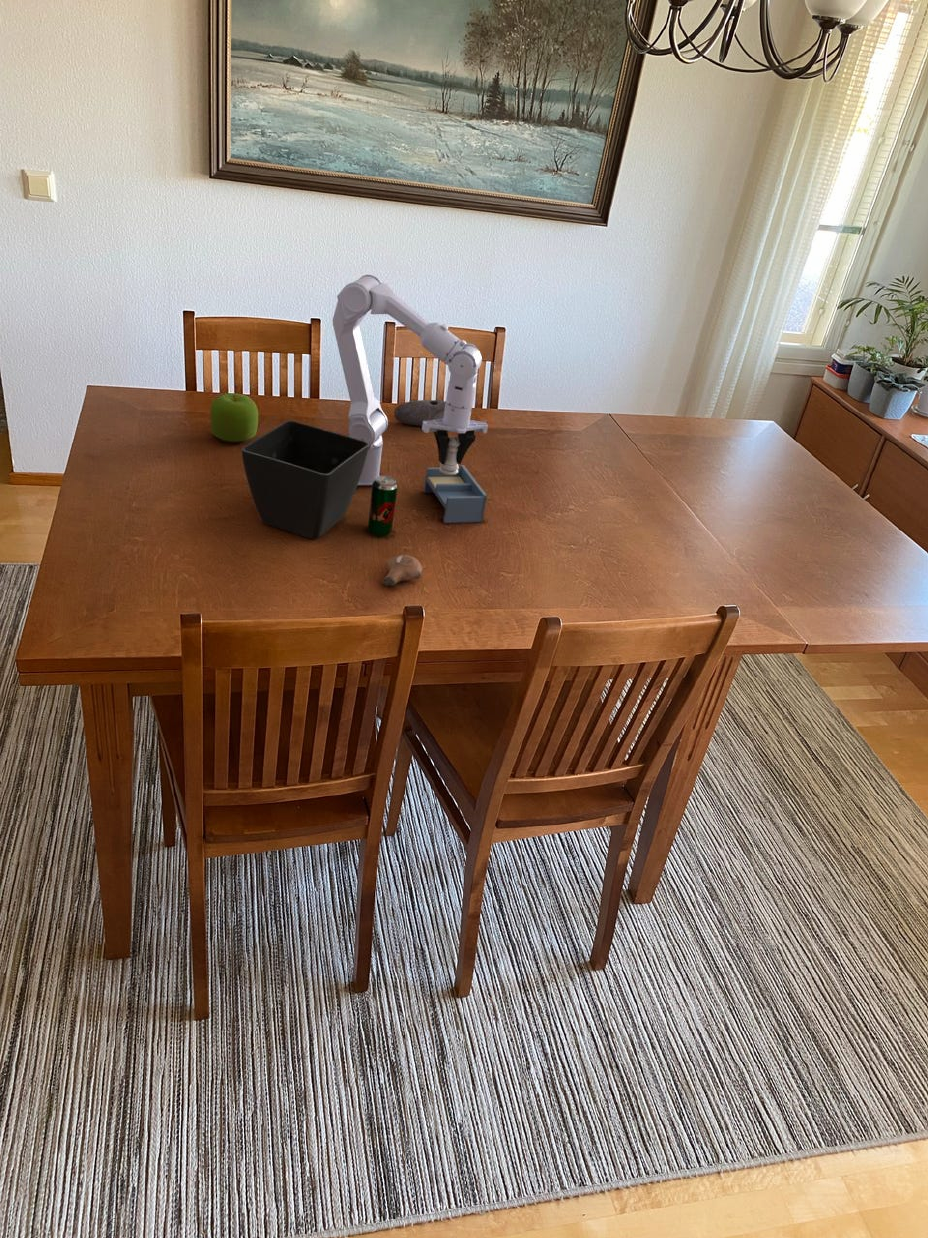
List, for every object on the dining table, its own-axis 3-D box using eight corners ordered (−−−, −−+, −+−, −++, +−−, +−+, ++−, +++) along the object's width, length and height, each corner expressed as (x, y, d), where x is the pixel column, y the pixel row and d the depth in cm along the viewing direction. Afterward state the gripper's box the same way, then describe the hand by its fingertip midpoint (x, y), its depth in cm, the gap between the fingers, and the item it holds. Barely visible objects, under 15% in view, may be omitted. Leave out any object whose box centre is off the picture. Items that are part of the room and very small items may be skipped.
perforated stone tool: (393, 426, 234) (396, 401, 230) (391, 419, 238) (394, 394, 234) (449, 431, 237) (453, 406, 234) (446, 423, 242) (450, 398, 238)
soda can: (395, 531, 187) (402, 479, 180) (384, 540, 183) (390, 488, 176) (375, 523, 188) (380, 472, 182) (362, 532, 184) (368, 480, 178)
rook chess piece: (449, 477, 197) (455, 444, 192) (434, 470, 199) (439, 437, 194) (462, 472, 200) (467, 439, 196) (446, 465, 202) (451, 432, 198)
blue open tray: (444, 522, 194) (448, 496, 190) (423, 491, 205) (427, 465, 201) (482, 521, 197) (487, 495, 193) (459, 490, 208) (463, 465, 205)
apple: (251, 450, 208) (252, 406, 202) (205, 443, 208) (205, 399, 202) (261, 432, 218) (263, 389, 212) (217, 425, 217) (217, 382, 211)
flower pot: (237, 524, 179) (238, 447, 170) (285, 490, 194) (288, 417, 185) (321, 553, 175) (327, 475, 166) (363, 516, 190) (371, 443, 181)
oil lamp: (371, 572, 174) (385, 595, 168) (371, 555, 171) (384, 577, 165) (414, 564, 177) (429, 586, 171) (414, 547, 174) (429, 568, 168)
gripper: (432, 410, 185) (424, 469, 192) (496, 411, 190) (486, 469, 198) (422, 397, 190) (414, 455, 198) (485, 398, 195) (475, 455, 203)
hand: (449, 461), depth 198 cm, fingers closed on rook chess piece, 3 cm apart
